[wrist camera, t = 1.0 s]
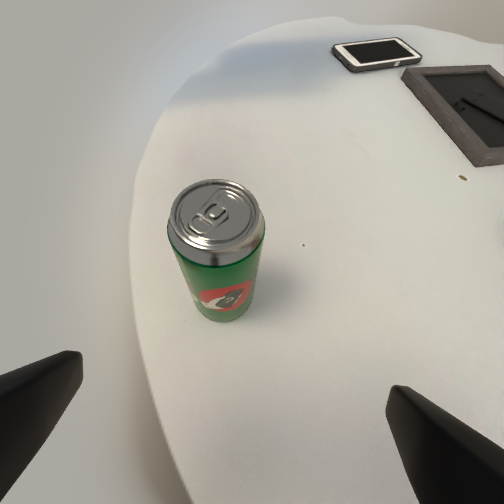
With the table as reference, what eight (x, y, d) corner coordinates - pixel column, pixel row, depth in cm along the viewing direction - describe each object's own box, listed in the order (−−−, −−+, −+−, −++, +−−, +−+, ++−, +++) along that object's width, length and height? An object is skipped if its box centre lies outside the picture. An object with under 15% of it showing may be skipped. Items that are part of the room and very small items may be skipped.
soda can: (263, 291, 23) (287, 207, 13) (226, 336, 21) (219, 279, 11) (221, 259, 25) (213, 159, 14) (182, 298, 23) (138, 214, 12)
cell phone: (329, 51, 46) (331, 44, 45) (395, 42, 49) (398, 36, 48) (351, 73, 43) (354, 67, 42) (421, 63, 46) (425, 57, 45)
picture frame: (573, 156, 36) (481, 74, 46) (591, 144, 34) (491, 61, 44) (475, 167, 33) (400, 78, 43) (488, 154, 32) (407, 64, 42)
